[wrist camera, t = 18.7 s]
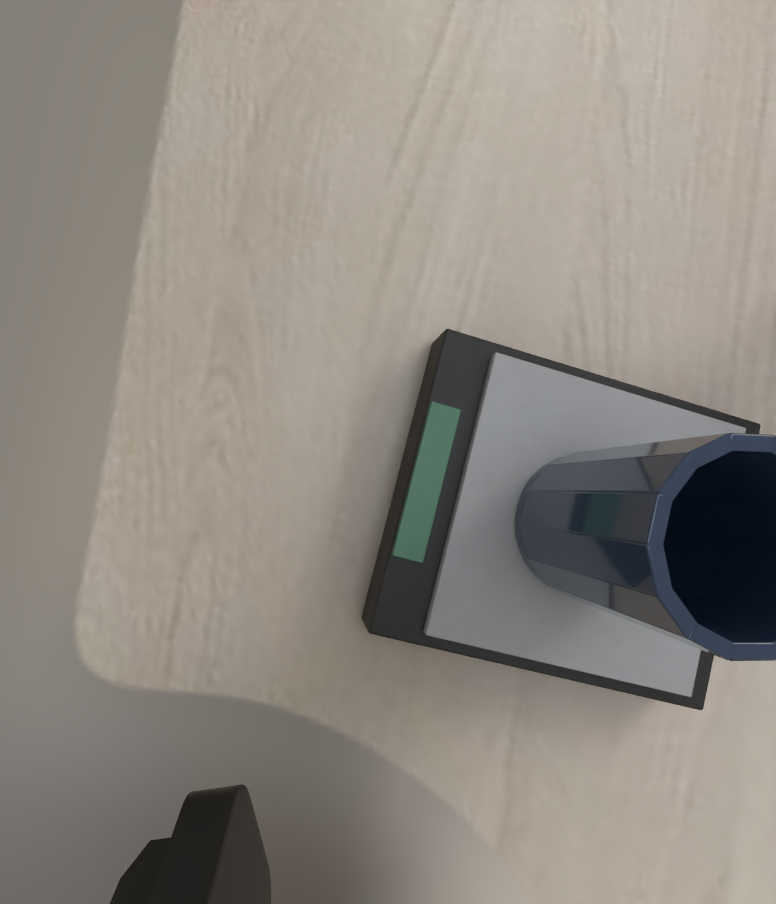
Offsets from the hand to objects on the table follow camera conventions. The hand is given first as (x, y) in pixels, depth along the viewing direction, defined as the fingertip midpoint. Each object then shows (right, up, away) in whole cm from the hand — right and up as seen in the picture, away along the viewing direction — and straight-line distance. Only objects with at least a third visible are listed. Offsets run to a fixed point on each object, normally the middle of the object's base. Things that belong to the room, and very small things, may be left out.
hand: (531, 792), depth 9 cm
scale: (+5, +2, +18) cm, 19 cm away
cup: (+6, +2, +15) cm, 16 cm away
